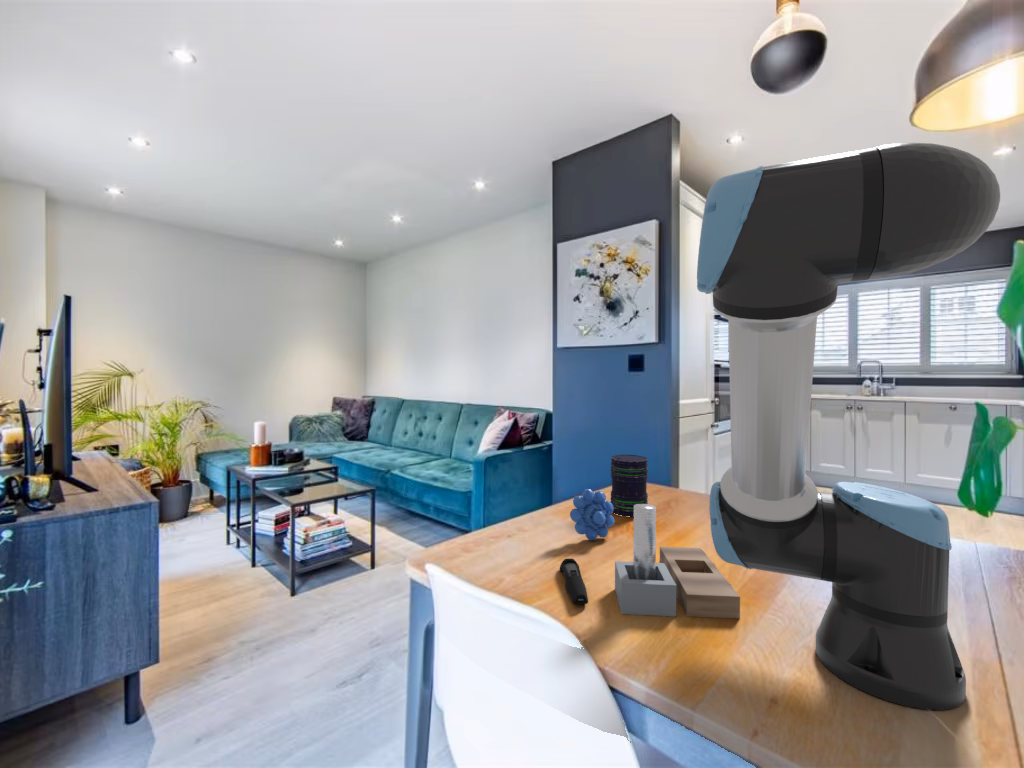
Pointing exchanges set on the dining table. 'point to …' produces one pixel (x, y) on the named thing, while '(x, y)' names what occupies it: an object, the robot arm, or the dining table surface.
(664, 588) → the block
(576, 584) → the electric trimmer
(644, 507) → the axle
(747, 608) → the dining table surface
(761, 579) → the dining table surface
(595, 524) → the blue lobed rosette
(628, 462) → the dark blue ridged cylinder
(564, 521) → the dining table surface
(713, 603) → the beam
